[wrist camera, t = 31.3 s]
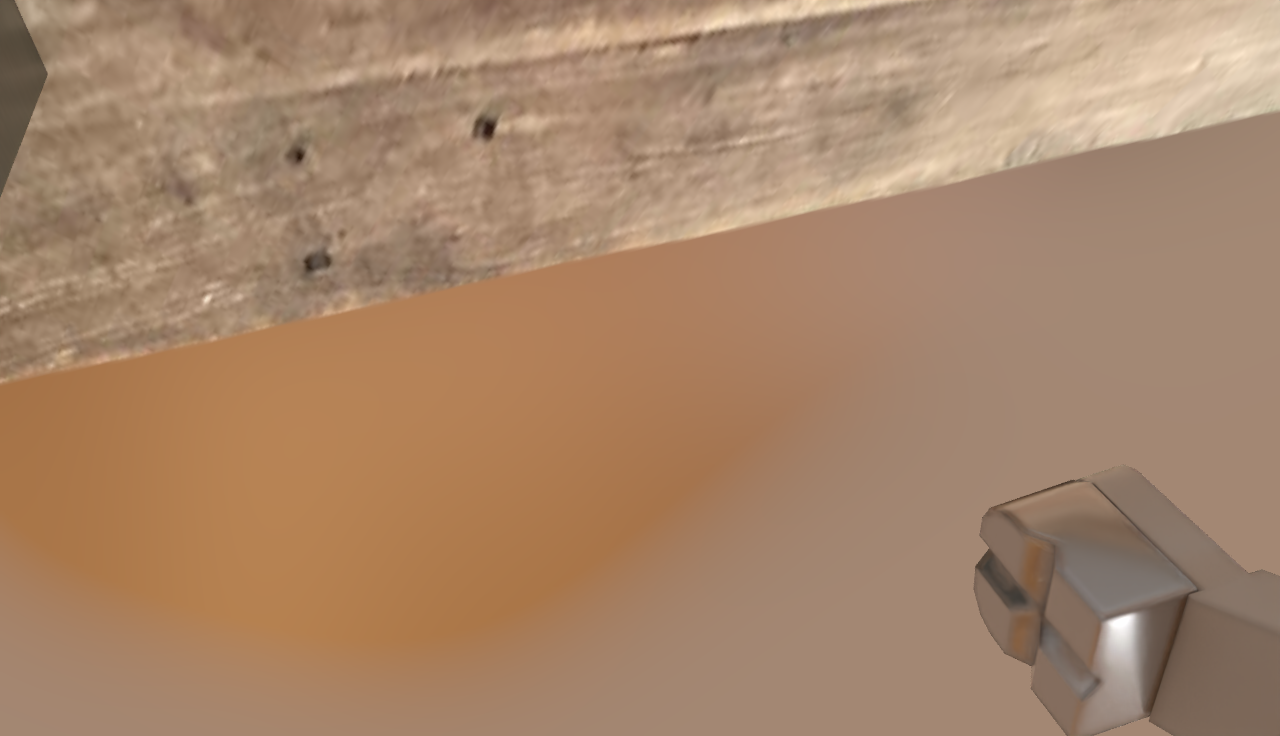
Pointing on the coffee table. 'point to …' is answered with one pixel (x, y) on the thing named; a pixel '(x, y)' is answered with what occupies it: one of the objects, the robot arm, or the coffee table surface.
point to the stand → (16, 84)
